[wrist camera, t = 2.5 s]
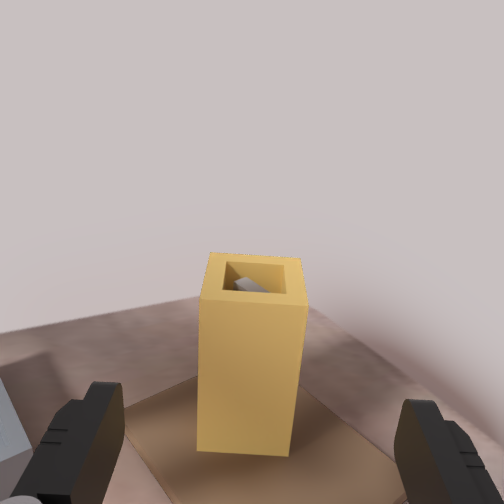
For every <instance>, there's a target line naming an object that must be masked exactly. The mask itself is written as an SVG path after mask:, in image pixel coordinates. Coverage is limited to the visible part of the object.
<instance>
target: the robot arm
mask: <svg viewBox="0 0 504 504" xmlns="http://www.w3.org/2000/svg"><path fill="white" fill-rule="evenodd" d="M124 433H125V417H124V405H123V393H122V385H121V383H115V382H96V381H94V382H93V383H92V384H91V385H90V387H89V389H88V391H87V393H86V395H85V397H84V399H83V400H74V399H71V400H70V401H69V402H68V403H67V404H66V405H65V406H63V407H62V408H61V409H60V410H59V411H58V412H57V413H56V414H55V416H54V418H53V420H52V422H51V423H50V425H49V427H48V431H47V432H45V434H44V436H43V438H42V440H41V443H40V445H38V447H37V449H36V450H35V452H34V454H33V456H32V458H31V459H30V461H29V463H28V465H27V467H26V468H25V470H24V472H23V474H22V476H21V477H20V479H19V481H18V483H17V485H16V486H15V488H14V490H13V492H12V494H11V495H10V497H9V498H8V499H5V500H3V501H1V502H0V504H102V502H103V499H104V497H105V494H106V491H107V488H108V485H109V482H110V479H111V476H112V473H113V471H114V468H115V465H116V462H117V459H118V456H119V453H120V450H121V447H122V444H123V440H124ZM394 455H395V461H396V464H397V467H398V470H399V474H400V477H401V480H402V483H403V486H404V489H405V492H406V496H407V499H408V502H409V504H504V502H503V500H502V498H501V496H500V494H499V492H498V490H497V488H496V486H495V484H494V483H493V481H492V479H491V477H490V475H489V473H488V471H487V470H485V466H484V464H483V462H482V460H481V458H480V456H478V452H477V450H476V448H475V447H474V445H473V443H472V441H471V439H470V437H469V435H468V434H467V433H465V432H464V431H463V430H462V429H461V428H460V427H459V426H458V425H457V424H456V423H455V422H454V421H447V420H444V419H443V417H442V415H441V413H440V411H439V409H438V407H437V405H436V403H435V402H434V401H432V400H413V399H406V400H405V401H404V403H403V406H402V410H401V414H400V418H399V423H398V427H397V431H396V435H395V440H394Z"/></svg>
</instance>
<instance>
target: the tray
mask: <svg viewBox="0 0 504 504" xmlns="http://www.w3.org/2000/svg"><path fill="white" fill-rule="evenodd" d="M32 456H33V449H32V446H31V444H30V442H29V439H28V437H27V435H26V433H25V431H24V428H23V426H22V424H21V422H20V420H19V418H18V415H17V413H16V411H15V409H14V407H13V404H12V402H11V400H10V398H9V396H8V393H7V391H6V389H5V387H4V385H3V383H2V380H1V378H0V502H1V501H3V500H5V499H8V498H9V497H10V495H11V494H12V492H13V490H14V488H15V486H16V485H17V483H18V481H19V479H20V477H21V476H22V474H23V472H24V470H25V468H26V467H27V465H28V463H29V461H30V459H31V458H32Z"/></svg>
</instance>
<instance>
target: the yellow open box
mask: <svg viewBox="0 0 504 504" xmlns="http://www.w3.org/2000/svg"><path fill="white" fill-rule="evenodd" d="M245 277H247V278H249V279H250V280H252V281H254V282H255V283H257V284H258V285H260V286H261V287H263V288H264V289H266V290H267V291H269V292H270V293H262V292H247V291H233V283H234V281H236V280H239V279H242V278H245ZM308 308H309V305H308V299H307V294H306V288H305V282H304V276H303V271H302V265H301V259H300V258H289V257H274V256H259V255H243V254H228V253H213V252H210V256H209V260H208V264H207V269H206V273H205V277H204V281H203V286H202V290H201V294H200V298H199V345H198V402H197V451H204V452H221V453H237V454H254V455H270V456H287V457H288V455H289V448H290V440H291V433H292V426H293V418H294V411H295V404H296V396H297V389H298V381H299V374H300V367H301V359H302V352H303V345H304V337H305V330H306V323H307V315H308Z"/></svg>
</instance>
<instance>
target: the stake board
mask: <svg viewBox="0 0 504 504" xmlns="http://www.w3.org/2000/svg"><path fill="white" fill-rule="evenodd" d="M233 291H247V292H262V293H270V292H269V291H267V290H266V289H264V288H263V287H261V286H260V285H258V284H257V283H255V282H254V281H252V280H250V279H249V278H247V277H245V278H242V279H239V280H236V281H234V283H233ZM197 402H198V376H196V377H193V378H191V379H189V380H187V381H184V382H182V383H180V384H178V385H176V386H173V387H171V388H169V389H167V390H164V391H162V392H160V393H158V394H156V395H153V396H151V397H149V398H147V399H144V400H142V401H140V402H138V403H136V404H133V405H131V406H129V407H127V408H124V417H125V434H126V436H127V437H128V439H129V440H130V442H131V443H132V445H133V446H134V448H135V449H136V450H137V452H138V453H139V455H140V456H141V458H142V459H143V461H144V462H145V463H146V465H147V466H148V468H149V469H150V471H151V472H152V474H153V475H154V477H155V478H156V479H157V481H158V482H159V484H160V485H161V487H162V488H163V490H164V491H165V493H166V494H167V495H168V497H169V498H170V500H171V501H172V503H173V504H402V503H403V502H404V501H405V500H406V499H407V496H406V492H405V489H404V486H403V483H402V480H401V477H400V474H399V470H398V467H397V464H396V463H395V462H393V461H392V460H391V459H390V458H389V457H387V456H386V455H385V454H384V453H382V452H381V451H380V450H379V449H377V448H376V447H375V446H374V445H372V444H371V443H370V442H369V441H368V440H366V439H365V438H364V437H363V436H361V435H360V434H359V433H358V432H356V431H355V430H354V429H353V428H352V427H350V426H349V425H348V424H347V423H345V422H344V421H343V420H342V419H340V418H339V417H338V416H337V415H335V414H334V413H333V412H332V411H331V410H329V409H328V408H327V407H326V406H324V405H323V404H322V403H321V402H319V401H318V400H317V399H316V398H314V397H313V396H312V395H311V394H310V393H308V392H307V391H306V390H305V389H303V388H302V387H301V386H300V385H298V389H297V396H296V404H295V411H294V418H293V426H292V433H291V440H290V448H289V455H288V457H287V456H270V455H254V454H237V453H221V452H204V451H197Z"/></svg>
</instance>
